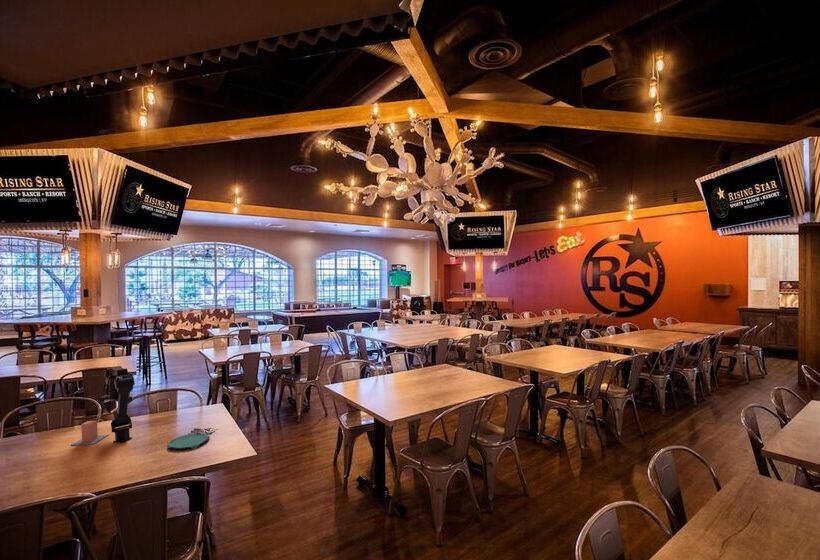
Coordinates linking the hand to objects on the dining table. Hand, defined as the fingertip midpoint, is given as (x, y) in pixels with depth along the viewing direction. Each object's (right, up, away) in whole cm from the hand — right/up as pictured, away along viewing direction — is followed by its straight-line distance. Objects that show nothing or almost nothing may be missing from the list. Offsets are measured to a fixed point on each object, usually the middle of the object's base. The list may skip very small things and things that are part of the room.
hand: (115, 413), depth 234 cm
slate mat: (-8, -12, -10) cm, 17 cm away
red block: (-8, -12, -10) cm, 17 cm away
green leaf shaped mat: (+53, -12, -11) cm, 56 cm away
